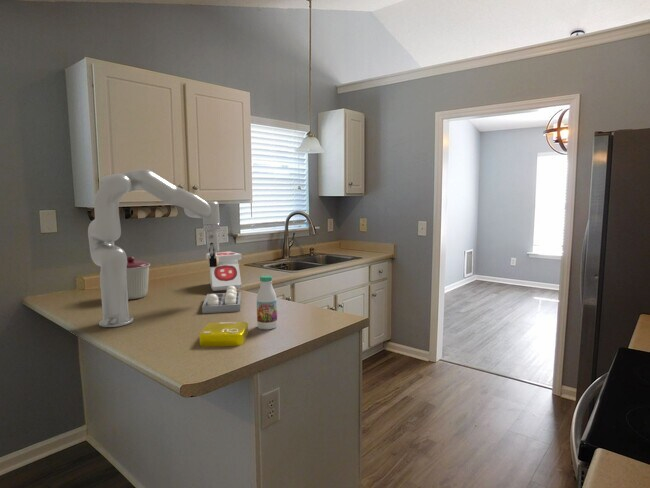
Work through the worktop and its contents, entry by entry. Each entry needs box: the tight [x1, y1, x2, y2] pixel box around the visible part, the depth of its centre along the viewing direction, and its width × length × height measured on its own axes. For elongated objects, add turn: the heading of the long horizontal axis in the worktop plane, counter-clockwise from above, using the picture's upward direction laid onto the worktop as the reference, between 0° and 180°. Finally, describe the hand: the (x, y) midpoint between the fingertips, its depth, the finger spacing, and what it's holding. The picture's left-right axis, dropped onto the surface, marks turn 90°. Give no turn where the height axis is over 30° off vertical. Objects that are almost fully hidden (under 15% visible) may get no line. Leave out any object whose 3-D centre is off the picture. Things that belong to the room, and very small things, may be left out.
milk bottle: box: [256, 275, 278, 330], centre depth 163 cm, size 8×8×20 cm
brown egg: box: [207, 254, 219, 268], centre depth 201 cm, size 5×5×6 cm
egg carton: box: [201, 286, 242, 314], centre depth 196 cm, size 24×16×7 cm
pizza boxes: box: [205, 251, 243, 291], centre depth 235 cm, size 19×30×18 cm, turn 18°
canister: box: [126, 255, 151, 300], centre depth 213 cm, size 18×18×21 cm
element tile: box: [198, 321, 249, 347], centre depth 151 cm, size 15×15×5 cm
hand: (213, 265), depth 201 cm, fingers closed on brown egg, 4 cm apart
